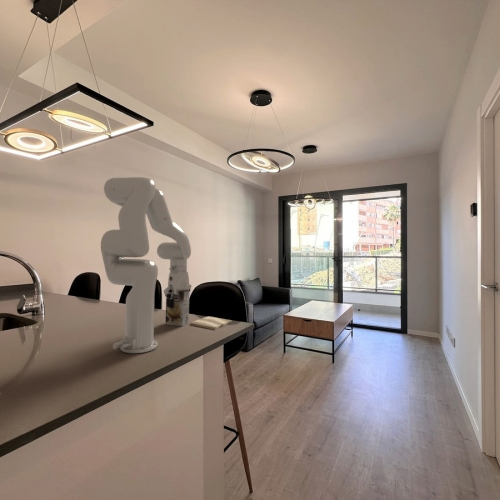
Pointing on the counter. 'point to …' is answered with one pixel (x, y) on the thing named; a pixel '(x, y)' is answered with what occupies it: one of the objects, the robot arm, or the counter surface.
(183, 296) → the coffee box
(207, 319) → the cream folded cloth
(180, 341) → the counter surface
